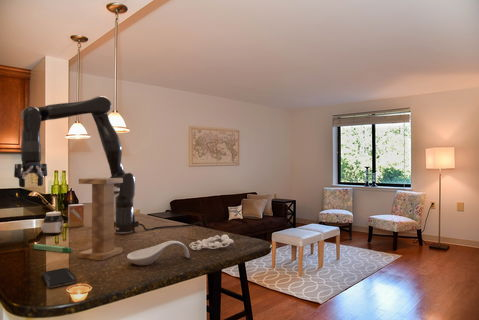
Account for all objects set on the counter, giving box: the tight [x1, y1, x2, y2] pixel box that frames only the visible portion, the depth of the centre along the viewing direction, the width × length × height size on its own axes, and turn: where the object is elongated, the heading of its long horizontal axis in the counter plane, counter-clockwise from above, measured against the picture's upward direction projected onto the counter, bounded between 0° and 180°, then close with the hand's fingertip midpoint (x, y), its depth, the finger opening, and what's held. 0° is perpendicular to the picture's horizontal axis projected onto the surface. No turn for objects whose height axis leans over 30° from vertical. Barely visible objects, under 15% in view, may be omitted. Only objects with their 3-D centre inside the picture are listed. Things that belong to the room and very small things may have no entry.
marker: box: [32, 243, 72, 254], centre depth 143 cm, size 21×2×2 cm, turn 71°
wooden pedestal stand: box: [78, 177, 124, 261], centre depth 135 cm, size 14×12×32 cm
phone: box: [42, 267, 77, 289], centre depth 107 cm, size 8×1×15 cm
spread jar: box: [40, 211, 64, 237], centre depth 176 cm, size 12×11×12 cm
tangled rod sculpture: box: [188, 234, 234, 252], centre depth 146 cm, size 19×14×4 cm
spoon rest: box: [126, 240, 191, 266], centre depth 126 cm, size 24×12×7 cm, turn 115°
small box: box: [67, 203, 85, 228], centre depth 197 cm, size 8×6×13 cm
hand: (31, 186), depth 147 cm, fingers open, 8 cm apart
